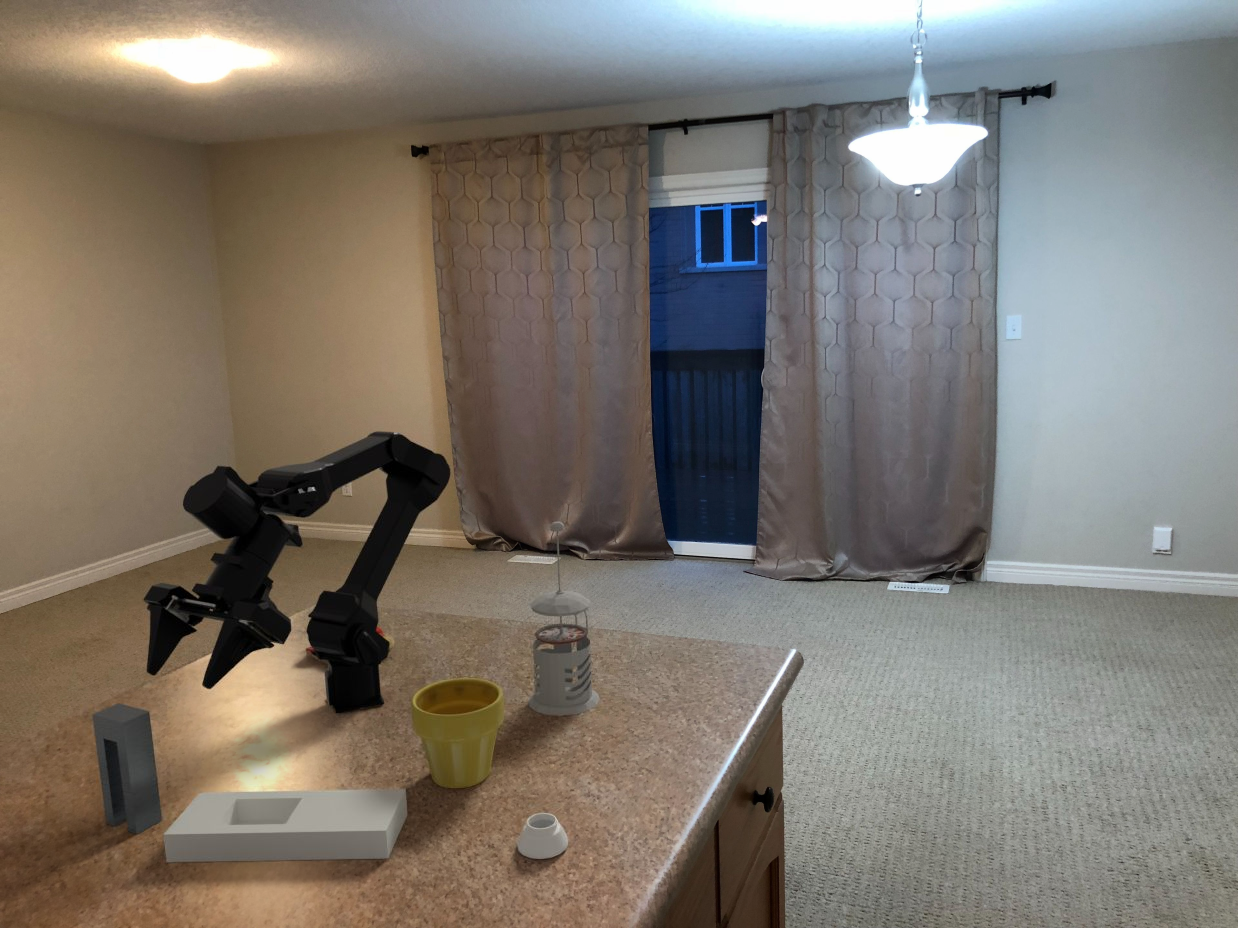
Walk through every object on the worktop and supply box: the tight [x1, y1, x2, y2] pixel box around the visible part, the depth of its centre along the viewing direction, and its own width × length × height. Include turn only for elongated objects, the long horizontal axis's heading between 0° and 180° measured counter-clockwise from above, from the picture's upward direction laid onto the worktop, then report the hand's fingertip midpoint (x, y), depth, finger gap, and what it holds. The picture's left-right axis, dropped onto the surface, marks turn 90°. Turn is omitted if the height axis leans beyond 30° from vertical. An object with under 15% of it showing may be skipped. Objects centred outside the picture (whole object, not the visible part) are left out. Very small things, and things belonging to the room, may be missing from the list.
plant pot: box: [410, 677, 505, 789], centre depth 108 cm, size 10×10×10 cm
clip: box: [91, 702, 163, 835], centre depth 100 cm, size 3×5×12 cm, turn 62°
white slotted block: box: [163, 788, 408, 863], centre depth 97 cm, size 8×22×3 cm, turn 89°
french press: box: [527, 521, 601, 717], centre depth 127 cm, size 10×12×25 cm
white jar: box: [516, 812, 569, 860], centre depth 94 cm, size 5×3×5 cm
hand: (177, 680), depth 105 cm, fingers open, 9 cm apart
